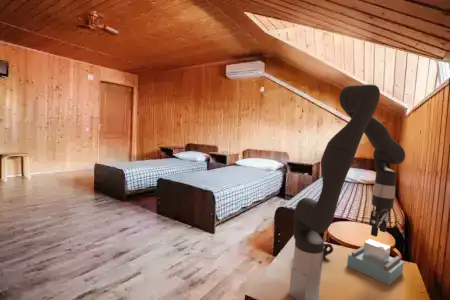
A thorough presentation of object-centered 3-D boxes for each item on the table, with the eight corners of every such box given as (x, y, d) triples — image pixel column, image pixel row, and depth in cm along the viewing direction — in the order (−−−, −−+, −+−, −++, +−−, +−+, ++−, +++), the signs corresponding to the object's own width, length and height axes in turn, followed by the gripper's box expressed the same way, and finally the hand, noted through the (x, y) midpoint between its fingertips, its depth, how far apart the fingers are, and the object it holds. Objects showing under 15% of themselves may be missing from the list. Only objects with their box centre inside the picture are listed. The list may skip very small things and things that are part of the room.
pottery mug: (306, 259, 114) (303, 239, 118) (307, 259, 122) (305, 241, 126) (335, 258, 110) (331, 238, 114) (335, 258, 119) (331, 239, 122)
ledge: (389, 285, 97) (391, 268, 97) (347, 265, 110) (348, 251, 109) (402, 273, 106) (404, 258, 106) (362, 256, 119) (363, 242, 118)
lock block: (383, 264, 103) (385, 249, 102) (362, 255, 109) (364, 241, 108) (388, 260, 106) (390, 246, 105) (368, 252, 112) (369, 239, 112)
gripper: (386, 199, 97) (381, 241, 99) (400, 195, 106) (395, 233, 108) (366, 194, 103) (361, 233, 105) (380, 190, 112) (375, 227, 114)
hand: (378, 233), depth 106 cm, fingers open, 8 cm apart
